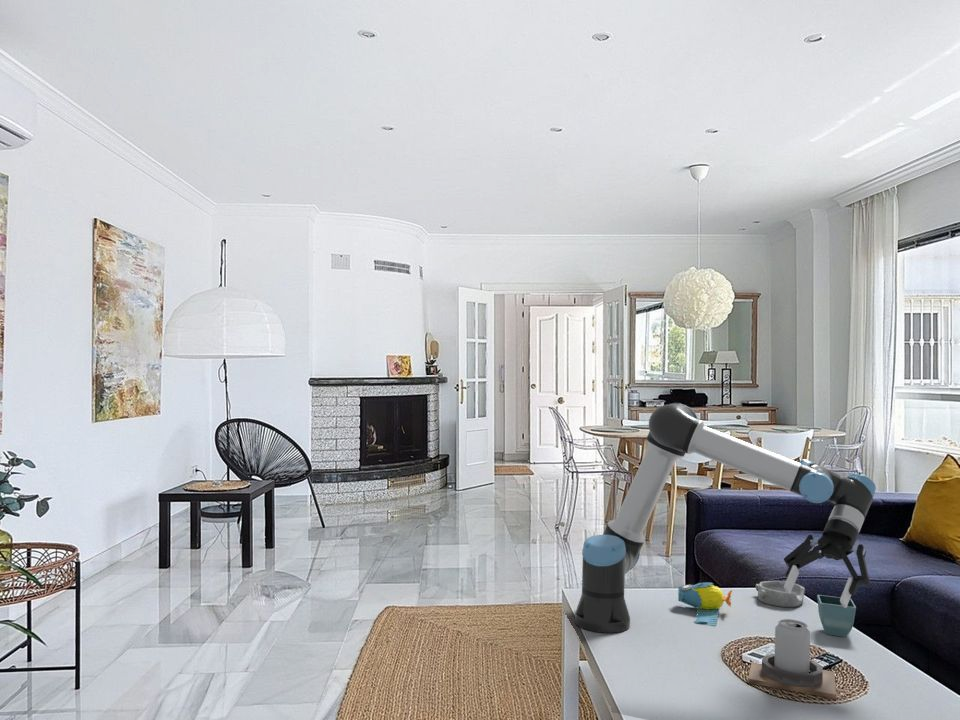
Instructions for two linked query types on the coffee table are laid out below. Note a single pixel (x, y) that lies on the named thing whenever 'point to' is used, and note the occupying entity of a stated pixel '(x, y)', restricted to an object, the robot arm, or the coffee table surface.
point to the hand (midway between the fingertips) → (814, 597)
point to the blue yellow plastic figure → (704, 601)
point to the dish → (780, 594)
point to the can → (792, 646)
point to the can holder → (793, 678)
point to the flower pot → (836, 615)
